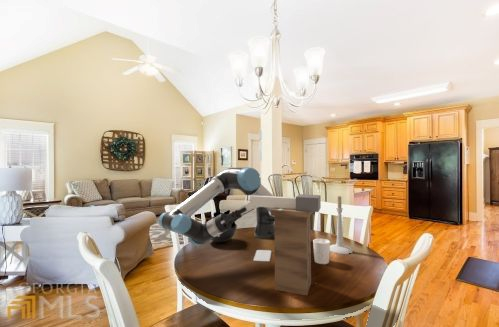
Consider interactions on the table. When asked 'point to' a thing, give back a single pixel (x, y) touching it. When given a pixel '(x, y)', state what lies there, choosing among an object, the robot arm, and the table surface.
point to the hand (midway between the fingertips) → (259, 201)
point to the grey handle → (289, 202)
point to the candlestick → (340, 235)
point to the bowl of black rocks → (229, 233)
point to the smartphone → (262, 256)
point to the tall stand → (292, 250)
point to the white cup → (321, 251)
